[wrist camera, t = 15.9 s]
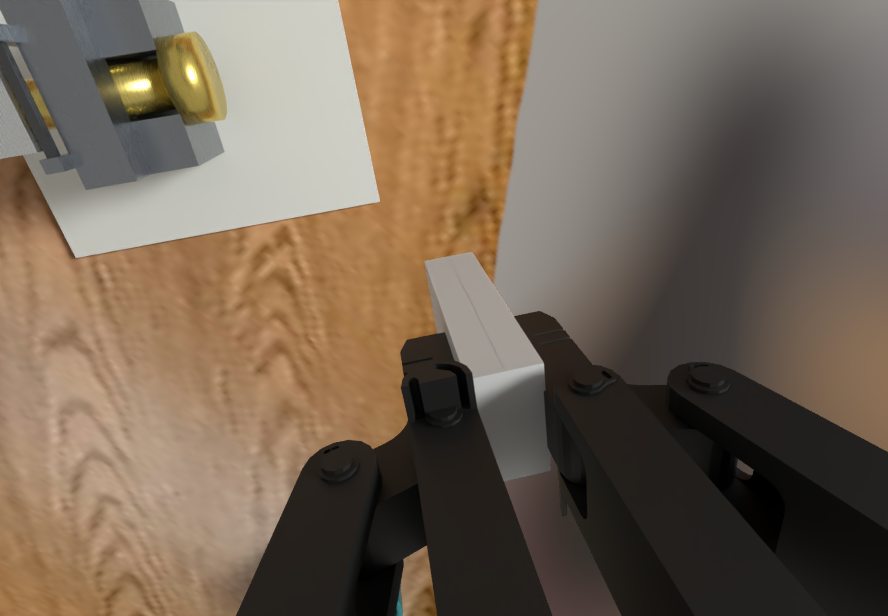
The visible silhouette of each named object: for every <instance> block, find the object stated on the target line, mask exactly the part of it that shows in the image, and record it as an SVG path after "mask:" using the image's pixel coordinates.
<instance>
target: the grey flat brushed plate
mask: <svg viewBox="0 0 888 616" xmlns="http://www.w3.org/2000/svg"><path fill="white" fill-rule="evenodd" d="M42 151H43V149H42V147H41V145H40V143H39V141H38V139H37V137H36V135H35V133H34V131H33V129H32V127H31V125H30V123H29V121H28V119H27V117H26V115H25V113H24V111H23V109H22V107H21V105H20V103H19V101H18V99H17V97H16V95H15V93H14V91H13V89H12V87H11V85H10V83H9V81H8V79H7V77H6V75H5V73H4V71H3V69H2V67H1V65H0V159H3V158H9V157H15V156H20V155H26V154H32V153H38V152H42Z"/></svg>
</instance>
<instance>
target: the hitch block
mask: <svg viewBox="0 0 888 616" xmlns="http://www.w3.org/2000/svg"><path fill="white" fill-rule="evenodd" d="M0 10H1V13H2V15H3V17H4V19H5V21H6V23H7V25H6V24H0V65H1V67H2V69H3V71H4V73H5V75H6V77H7V79H8V81H9V83H10V85H11V87H12V89H13V91H14V93H15V95H16V97H17V99H18V101H19V103H20V105H21V107H22V109H23V111H24V113H25V115H26V117H27V119H28V121H29V123H30V125H31V127H32V129H33V131H34V133H35V135H36V137H37V139H38V141H39V143H40V145H41V147H42V149H43V151H44V153H45V155H46V159H42V160H39V162H40V164H41V166H42V168H43V170H44V172H45V174H46V175H48V174H54V173H60V172H65V171H68V170H71V169H74V168H76V170H77V172H78V175H79V177H80V179H81V181H82V183H83V185H84V187H85V189H86V190H89V189H95V188H101V187H106V186H112V185H118V184H123V183H129V182H135V181H138V180H140V179H143V178H145V177H147V176H149V175H151V174H156V173H161V172H167V171H173V170H179V169H184V168H190V167H196V166H200V165H202V164H203V163H205V162H207V161H209V160H211V159H213V158H214V157H216V156H218V155H220V154H222V153H224V152H225V151H224V148H223V145H222V142H221V139H220V136H219V133H218V130H217V127H216V124H215V122H209V123H203V124H197V125H190V124H188V123H187V122H186V121H185V120H184V119H183V118H182V116H181V115H180V114H179V112H178V111H177V109H175V110H168V111H162V112H156V113H150V114H144V115H138V116H132V117H129V116H128V114H127V111H126V109H125V107H124V104H123V102H122V99H121V97H120V94H119V92H118V89H117V87H116V85H115V82H114V80H113V77H112V75H111V72H110V70H109V67H108V66H111V65H118V64H124V63H130V62H137V61H143V60H149V59H156V58H157V54H156V43H157V39H158V38H159V37H161V36H167V35H174V34H180V33H185V32H184V29H183V26H182V23H181V20H180V17H179V14H178V12H177V9H176V6H175V3H174V2H172V1H169V0H0ZM8 46H12V47H18V48H19V50H20V53H21V55H22V57H23V59H24V61H25V63H26V65H27V67H28V69H29V71H30V74H31V76H32V78H33V80H34V82H35V84H36V86H37V88H38V90H39V93H40V95H41V97H42V99H43V101H44V103H45V105H46V107H47V109H48V111H49V114H50V116H51V118H52V120H53V122H54V124H55V126H56V128H57V130H58V132H59V135H60V137H61V139H62V141H63V143H64V145H65V147H66V149H67V151H68V153H66V154H62V155H60V153H59V150H58V148H57V146H56V144H55V142H54V140H53V138H52V136H51V134H50V132H49V130H48V128H47V126H46V124H45V121H44V119H43V117H42V115H41V113H40V111H39V109H38V107H37V105H36V103H35V101H34V99H33V97H32V95H31V93H30V90H29V88H28V86H27V84H26V82H25V80H24V78H23V76H22V74H21V72H20V70H19V68H18V66H17V64H16V61H15V59H14V57H13V55H12V53H11V51H10V49H9V47H8Z"/></svg>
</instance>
